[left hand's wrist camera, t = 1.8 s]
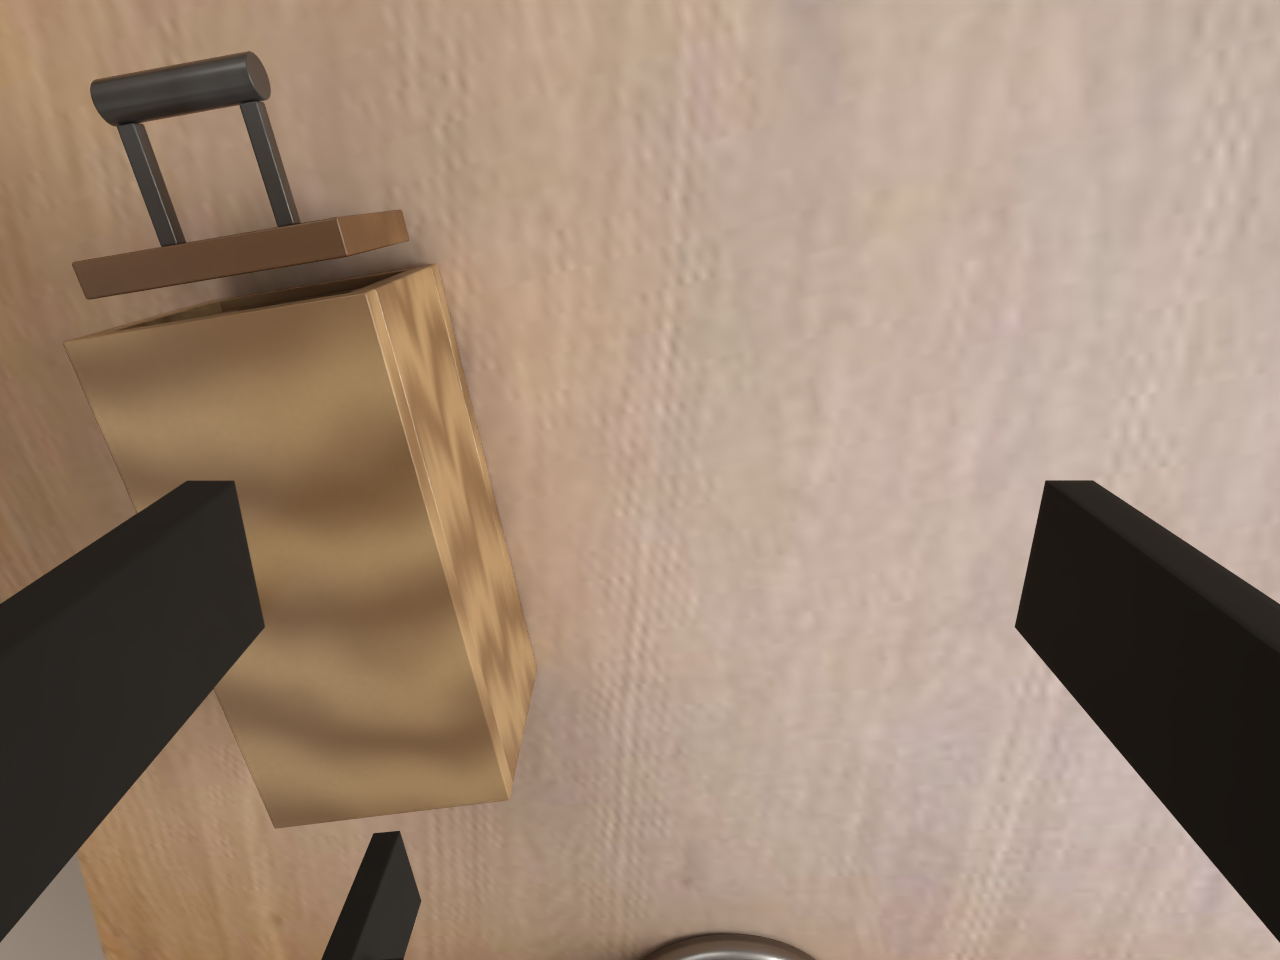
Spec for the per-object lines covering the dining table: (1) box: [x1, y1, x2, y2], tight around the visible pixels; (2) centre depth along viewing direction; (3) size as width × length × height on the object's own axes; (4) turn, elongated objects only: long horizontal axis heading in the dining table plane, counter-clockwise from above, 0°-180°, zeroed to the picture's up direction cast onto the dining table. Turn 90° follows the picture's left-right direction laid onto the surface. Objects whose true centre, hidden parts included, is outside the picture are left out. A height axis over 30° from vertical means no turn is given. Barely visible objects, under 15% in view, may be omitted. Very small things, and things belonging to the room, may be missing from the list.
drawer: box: [72, 51, 409, 315], centre depth 30 cm, size 25×9×7 cm, turn 9°
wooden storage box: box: [63, 264, 537, 828], centre depth 32 cm, size 21×10×9 cm, turn 9°
